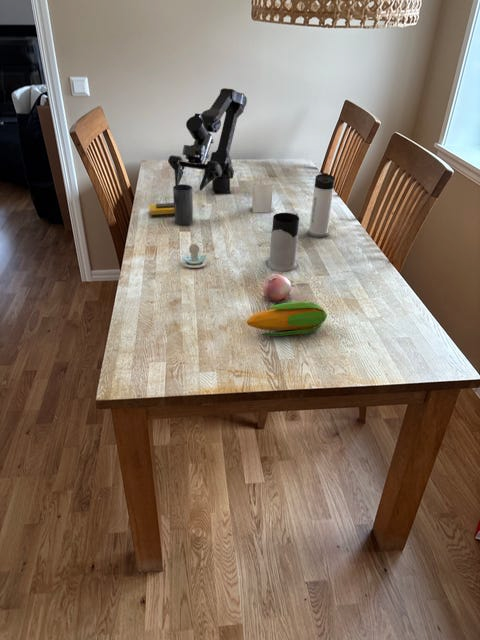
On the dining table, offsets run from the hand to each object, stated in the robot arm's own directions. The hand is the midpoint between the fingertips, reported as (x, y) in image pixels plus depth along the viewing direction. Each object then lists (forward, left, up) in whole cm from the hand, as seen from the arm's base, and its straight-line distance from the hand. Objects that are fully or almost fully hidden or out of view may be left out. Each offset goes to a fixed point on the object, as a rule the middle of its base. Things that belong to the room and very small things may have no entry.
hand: (188, 188), depth 171 cm
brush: (+7, -5, -11) cm, 14 cm away
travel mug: (-42, +20, -11) cm, 48 cm away
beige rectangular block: (-28, -3, -11) cm, 30 cm away
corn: (-14, +73, -11) cm, 75 cm away
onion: (-16, +58, -11) cm, 61 cm away
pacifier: (+3, +35, -11) cm, 37 cm away
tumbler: (+2, +3, -11) cm, 12 cm away
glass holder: (-25, +37, -11) cm, 46 cm away
